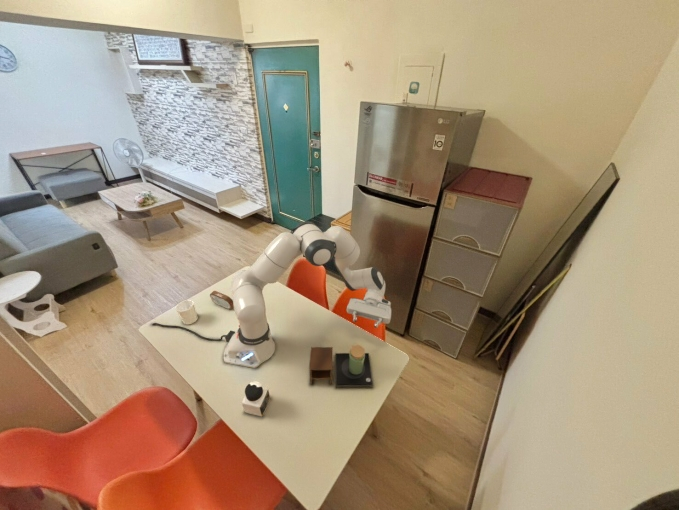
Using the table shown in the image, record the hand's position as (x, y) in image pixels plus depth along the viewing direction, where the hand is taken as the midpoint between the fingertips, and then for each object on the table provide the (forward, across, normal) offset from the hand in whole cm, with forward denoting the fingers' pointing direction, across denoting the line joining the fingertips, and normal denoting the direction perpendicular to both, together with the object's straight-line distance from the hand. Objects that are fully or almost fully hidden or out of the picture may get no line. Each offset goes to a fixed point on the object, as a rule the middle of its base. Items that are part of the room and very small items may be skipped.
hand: (365, 323), depth 114 cm
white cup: (+13, -87, +18) cm, 90 cm away
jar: (+12, 0, +15) cm, 19 cm away
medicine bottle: (+38, -31, +18) cm, 52 cm away
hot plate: (+12, -1, +17) cm, 21 cm away
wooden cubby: (+18, -13, +17) cm, 28 cm away
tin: (-1, -78, +18) cm, 80 cm away
